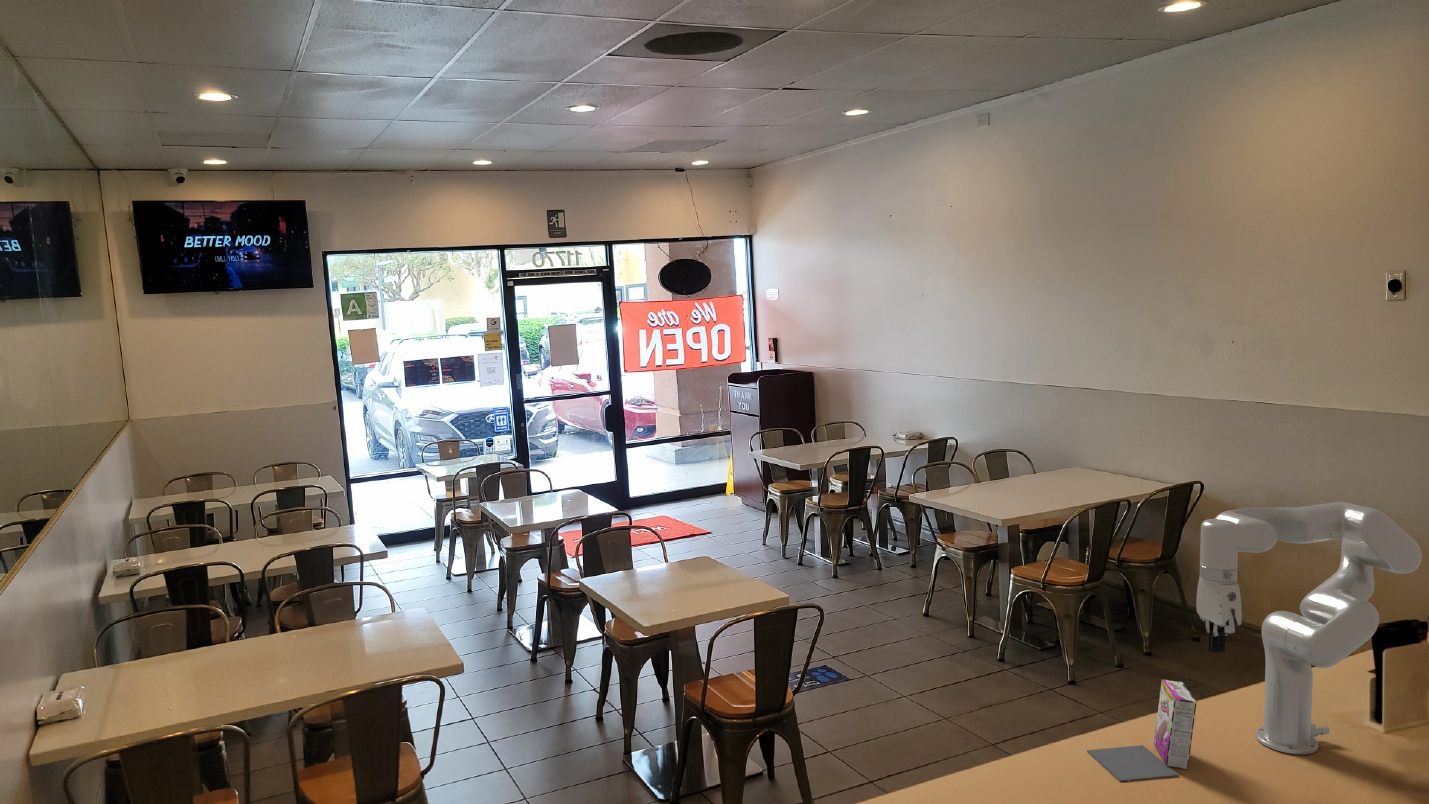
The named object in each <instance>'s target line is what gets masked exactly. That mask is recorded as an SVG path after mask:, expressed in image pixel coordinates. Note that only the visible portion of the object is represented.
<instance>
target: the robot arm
mask: <svg viewBox="0 0 1429 804" xmlns="http://www.w3.org/2000/svg"><path fill="white" fill-rule="evenodd" d="M1341 539H1342V541H1341V548H1340V549H1341V551H1340V553H1341V554H1340V563H1339V567H1338V569H1337V571H1336V572H1335V573H1333V574H1332V575H1331V576H1330V577H1328V578H1327V579H1326V580H1325V581H1322V583H1321V584H1319V585H1318V586H1317V587H1315V588H1314V589H1312V590H1311V591H1310V592H1308V593H1307V594H1306V595H1305V596H1304V598H1303V599H1302V600H1301V602H1300V603H1299V604H1300V605H1299V610H1300V614H1301V615H1299V614H1297V613H1295V612H1292V611H1285V610H1276V611H1273V612H1271V613H1269V614H1268V615H1267V616H1266V617H1265V618H1264V620H1263V622H1262V624H1261V638H1262V643H1263V648H1264V657H1265V669H1264V670H1265V672H1264V673H1265V674H1264V675H1265V676H1264V702H1263V703H1264V704H1263V705H1264V706H1263V726H1261V727H1260V728H1258V729H1257V730H1256V731H1255V737H1256V740H1257V741H1258V742H1259V743H1260V744H1262V745H1263V746H1265V747H1267V748H1269V749H1272V750H1274V751H1277V752H1281V753H1285V754H1292V755H1310V754H1314V753H1315V752H1316V753H1317V751H1318V750H1319V742H1318V740H1317V739H1316V737H1318V736H1319V735H1320V736H1322V735H1329V734H1330V728H1329V727H1328V726H1327V725H1322V726H1321V725H1320V726H1317V725H1316V723H1314V722H1312V708H1313V707H1312V706H1313V685H1314V684H1313V683H1314V682H1313V681H1314V679H1313V677H1314V674H1313V669H1312V666H1314V667H1317V668H1321V669H1323V668H1325V669H1326V668H1331V667H1333V666H1336V665H1338V664H1339V663H1340V662H1342V661H1343V660H1344V659H1346V658H1347V657H1349V656H1350V655H1351V654H1353V652H1355V651H1357V649H1359V648H1360V647H1361V646H1363V645H1364V644H1365V643H1367V642H1368V641H1369V640H1370V639H1371V638H1372V637H1373V636H1374V635H1375V633H1376V632H1377V629H1378V627H1379V623H1380V616H1379V615H1380V614H1379V611H1378V610H1377V608H1376V607H1375V605H1373V603H1371V602H1369V601H1368V600H1369V599H1370V598H1371V597H1372V596H1373V594H1374V591H1375V585H1376V584H1375V579H1374V568H1377V569H1380V570H1383V571H1387V572H1390V573H1392V574H1393V573H1394V574H1398V575H1406V574H1407V575H1408V574H1412V573H1413V572H1415V571H1416V570H1417V569H1418V568H1419V567H1420V565H1421V564H1422V560H1423V551H1422V549H1421V547H1420V545H1419V544H1418V542H1417V541H1416V540H1415V539H1414V538H1413V537H1412V536H1411V535H1410V534H1409V533H1407V531H1405V529H1403V528H1402V527H1401V526H1400V525H1399V524H1398V523H1397V522H1396V521H1394V519H1392V518H1391V517H1390V516H1389V515H1387V514H1385V512H1382V511H1381V510H1379V509H1377V508H1374V507H1373V508H1372V507H1368V506H1364V505H1359V504H1356V503H1350V502H1344V501H1336V502H1329V503H1321V504H1314V505H1305V506H1299V507H1297V506H1296V507H1287V506H1286V507H1284V506H1283V507H1280V506H1279V507H1244V508H1235V509H1228V510H1225V511H1222V512H1220V513H1219V514H1218V515H1216V516H1215V518H1208V519H1205V520H1203V521H1202V523H1201V524H1200V540H1199V541H1200V543H1199V545H1200V548H1199V550H1200V551H1199V579H1198V584H1197V590H1196V601H1195V603H1196V604H1195V605H1196V607H1195V608H1196V613H1197V614H1198V616H1199V618H1200V619H1201V621H1203V622H1204V625H1205V629H1206V630H1205V631H1206V633H1207V650H1208V651H1210V652H1211V653H1224V652H1225V651H1226V637H1227V636H1228V634H1234V633H1235V632H1236V629H1235V628H1236V627H1237V626H1238V627H1239V626H1241V625H1242V621H1243V620H1242V611H1243V610H1242V598H1241V597H1242V596H1241V591H1240V585H1239V583H1238V558H1239V557H1238V554H1239V553H1240V552H1241V553H1255V554H1256V553H1257V554H1259V553H1265V552H1267V551H1270V550H1272V548H1274V547H1275V545H1276V543H1277V542H1283V543H1290V544H1300V545H1308V544H1313V543H1321V542H1325V541H1326V542H1327V541H1328V542H1329V541H1335V540H1341ZM1235 626H1236V627H1235Z"/></svg>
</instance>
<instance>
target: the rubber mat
mask: <svg viewBox="0 0 1429 804" xmlns="http://www.w3.org/2000/svg"><path fill="white" fill-rule="evenodd" d="M1086 752H1087V753H1088V754H1089V755H1090V756H1091V757H1092V758H1093V757H1094V758H1093V759H1094V760H1095V761H1097V763H1099V765H1101V766H1102V767H1103V768H1104V769H1105V770H1106V769H1107V770H1108V771H1109V772H1108V771H1107V770H1106V771H1107V772H1108V773H1110V774H1111V775H1112V776H1113V777H1114V778H1115V779H1116V778H1117V779H1116V780H1117V781H1118V780H1119V781H1121V782H1120V783H1122V781H1124V782H1133V781H1134V780H1135V781H1144V780H1153V779H1164V778H1165V779H1166V778H1175V777H1180V775H1179V773H1177V771H1175V770H1174V769H1172V767H1168V766H1166V764H1165V763H1164V761H1163V759H1160V757H1158V756H1156V755H1155V754H1154V753H1153V752H1152V751H1150V749H1148V748H1147V747H1146V746H1144V745H1142V744H1141V745H1131V746H1130V745H1129V746H1119V747H1117V746H1116V747H1108V748H1107V747H1106V748H1098V749H1087V751H1086ZM1128 780H1130V781H1128ZM1119 781H1118V782H1119Z"/></svg>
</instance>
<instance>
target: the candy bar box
mask: <svg viewBox="0 0 1429 804" xmlns="http://www.w3.org/2000/svg"><path fill="white" fill-rule="evenodd" d="M1197 703H1198V702H1197V701H1196V699H1195V698H1194V697H1193V695H1192V693H1191V692H1190V691H1189V689H1188V688H1187V687H1186V685H1185V684H1184V682H1183V681H1177V680H1176V681H1175V680H1171V679H1170V680H1169V679H1161V684H1160V691H1159V700H1158V707H1157V717H1156V724H1155V730H1154V739H1153V745H1154V746H1155V749H1156V750H1157V751H1158V753H1159V755H1160V757H1161V760H1162V761H1163V762H1164V763H1165V764H1166V766H1168V767H1170V768H1175V769H1182V770H1189V764H1190V762H1189V761H1190V757H1191V756H1190V755H1191V748H1192V739H1193V733H1194V726H1195V725H1194V724H1195V718H1196V709H1197Z"/></svg>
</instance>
